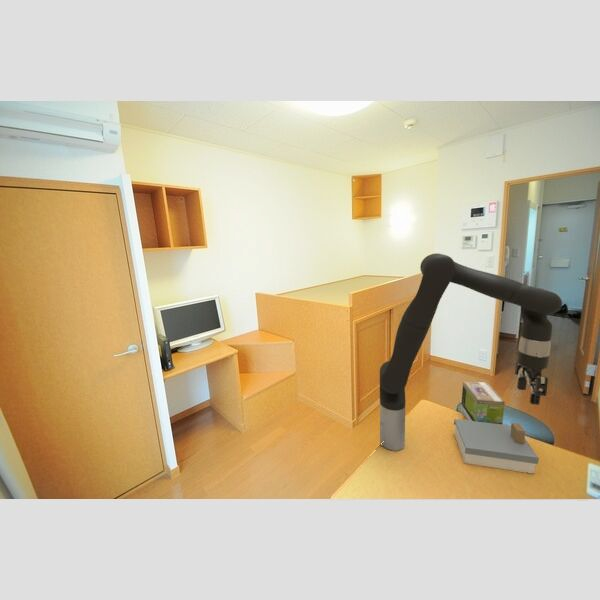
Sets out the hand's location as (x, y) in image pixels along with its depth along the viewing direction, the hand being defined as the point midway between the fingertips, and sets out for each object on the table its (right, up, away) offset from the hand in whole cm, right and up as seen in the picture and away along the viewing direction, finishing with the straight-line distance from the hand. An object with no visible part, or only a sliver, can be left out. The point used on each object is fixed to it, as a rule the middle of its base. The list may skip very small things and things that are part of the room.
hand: (527, 396), depth 88 cm
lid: (-7, -19, +8) cm, 22 cm away
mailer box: (-6, -24, +8) cm, 26 cm away
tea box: (+1, -20, +25) cm, 32 cm away
